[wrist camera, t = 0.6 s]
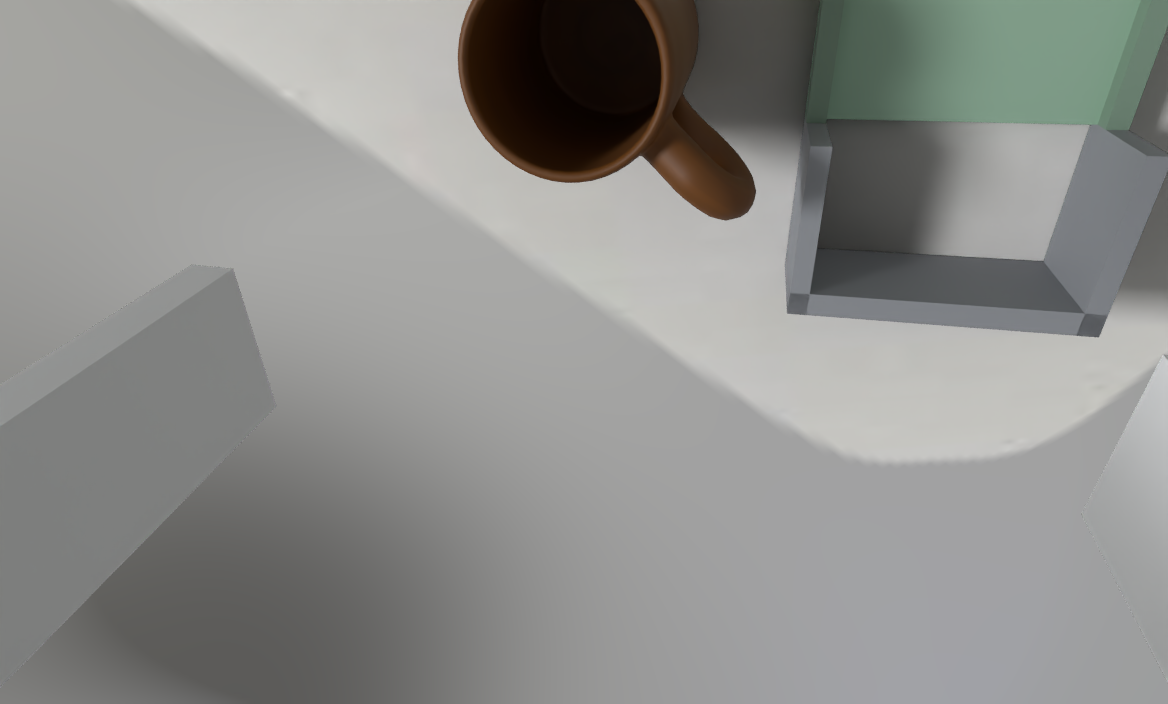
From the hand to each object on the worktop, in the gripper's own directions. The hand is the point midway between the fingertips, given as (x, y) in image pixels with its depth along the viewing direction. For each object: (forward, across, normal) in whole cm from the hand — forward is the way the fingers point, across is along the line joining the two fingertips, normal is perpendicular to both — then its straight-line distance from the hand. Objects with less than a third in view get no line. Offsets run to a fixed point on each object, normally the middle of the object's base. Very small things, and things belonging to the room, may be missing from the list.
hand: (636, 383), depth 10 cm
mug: (+24, -3, 0) cm, 25 cm away
